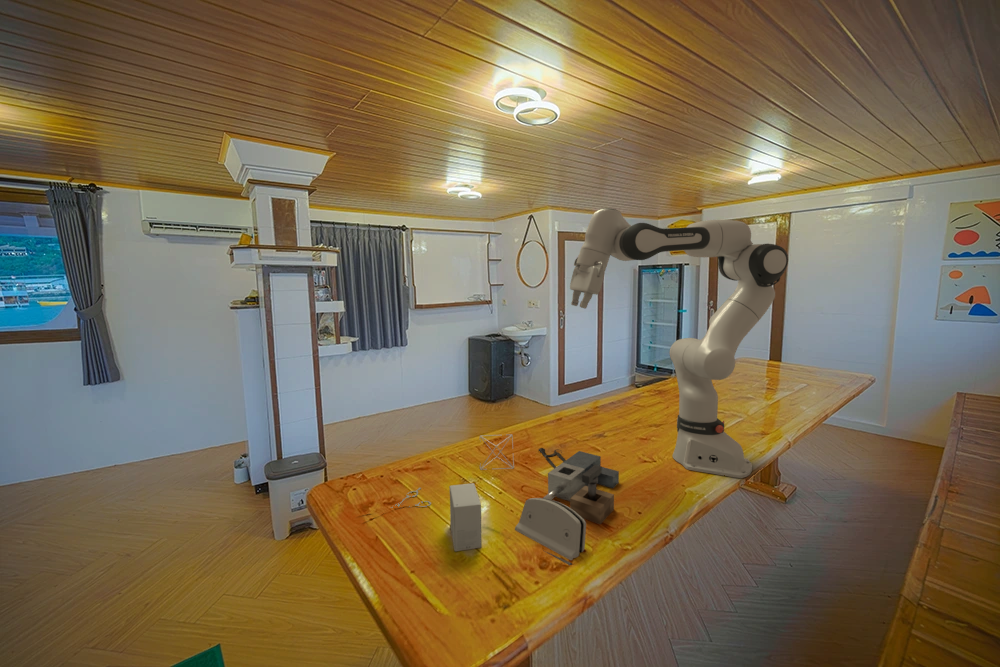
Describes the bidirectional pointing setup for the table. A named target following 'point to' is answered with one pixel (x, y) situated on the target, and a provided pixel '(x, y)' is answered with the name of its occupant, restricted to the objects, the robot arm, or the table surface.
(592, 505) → the brown square ring block
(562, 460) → the forked twig branch
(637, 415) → the table surface
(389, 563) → the table surface
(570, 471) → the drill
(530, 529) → the grey curved-top slotted block
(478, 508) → the skincare box
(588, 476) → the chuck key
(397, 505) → the scissors
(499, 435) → the geometric polyhedron
